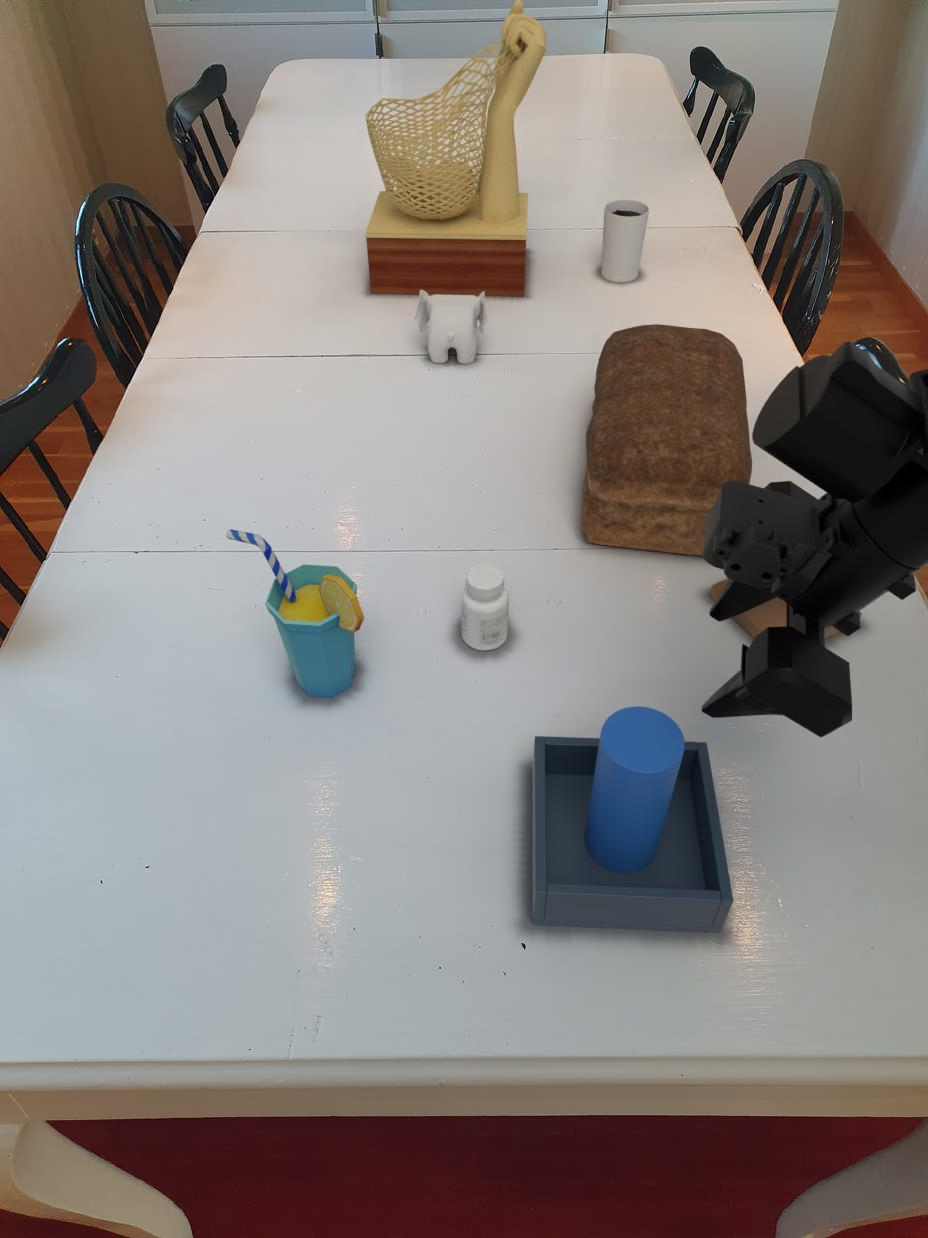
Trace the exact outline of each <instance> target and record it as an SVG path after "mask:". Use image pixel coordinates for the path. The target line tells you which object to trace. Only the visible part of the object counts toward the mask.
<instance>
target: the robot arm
mask: <svg viewBox="0 0 928 1238" xmlns="http://www.w3.org/2000/svg"><path fill="white" fill-rule="evenodd" d="M908 384H909V387H908V386H906V384H904V383H902V382H901V381H899V380H898V379H896V378H895V377H894V376H892V375H891V374H889V373H888V372H887V371H886V370H884V369H882V367H880V366H879V365H877V364H876V363H875V362H874V360H873V359H872V358H871V356H870V355H869V354H868V353H867V352H866V351H865V350H863V349H862V348H861V347H859V346H858V345H856V344H855V343H854V342H852V341H843V343H842V344H841V345H840V346H839V347H838V348H837V349H836V350H834V351H833V352H832V354H831V355H829V354H821V355H817V356H815V357H813V358H811V359H810V360H808V361H806V362H805V363H803V364H802V365H801V366H798V365H796V366H794V367H793V369H791V370H790V371H789V372H788V373H787V374H786V375H785V376H784V377H783V378H782V379H781V381H780V382H779V383H778V384H777V385H776V387H775V388H774V389H773V391H772V392H770V394H769V396H768V398H767V399H766V401H765V402H764V404H763V406H762V407H761V409H760V411H759V413H758V414H757V417H756V419H755V422H754V424H753V429H752V433H751V439H752V442H753V444H754V445H755V446H757V447H758V448H759V449H761V450H762V451H764V452H765V453H767V454H768V455H769V456H771V457H772V458H774V459H776V460H777V461H779V462H780V463H782V464H783V465H784V466H786V467H788V468H789V469H790V470H792V471H794V472H795V473H796V474H798V475H800V476H801V477H803V478H804V479H806V480H807V481H809V482H810V483H812V484H813V485H815V486H816V487H818V488H819V489H821V490H822V491H824V492H825V493H824V494H823V495H822V496H821V497H819V498H817V497H815V496H814V495H812V494H811V493H809V492H808V491H806V490H805V489H803V487H801V486H799V485H797V484H795V482H793V481H791V480H782V481H781V480H780V481H770V482H769V483H768V484H766V486H765V487H761V486H757V485H753V484H746V483H743V482H739V481H727V482H725V483H724V484H723V485H722V488H721V490H720V492H719V494H718V496H717V498H716V500H715V503H714V505H713V507H712V509H711V511H710V513H709V515H708V518H707V520H706V522H705V537H704V545H703V549H702V555H701V556H702V558H703V559H704V561H705V562H706V563H707V564H708V565H710V566H712V567H714V568H717V569H720V570H723V574H724V575H725V577H726V579H729V581H728V582H727V584H726V586H725V587H724V589H723V590H722V592H721V593H720V595H719V597H718V598H717V600H716V601H714V603H713V604H712V606H711V607H710V609H709V611H708V612H709V613H708V615H709V617H711V618H712V619H714V620H715V621H717V622H723V621H726V620H729V619H731V618H732V617H734V616H737V615H740V614H742V613H744V612H746V611H748V610H751V609H753V608H755V607H757V606H759V605H761V604H764V603H766V602H768V601H770V600H772V599H774V598H777V597H778V598H780V599H781V600H783V601H785V602H786V627H767V628H766V629H765V630H763V631H762V632H761V633H759V634H758V635H757V636H755V638H753V640H752V641H751V643H750V645H749V646H748V645H746V644H745V643H742V644H741V651H740V669H739V670H738V671H737V672H736V673H735V674H734V675H732V676H731V677H730V678H729V679H728V680H727V681H726V682H725V683H724V684H723V685H722V686H720V687H719V688H718V689H717V690H716V691H715V692H714V693H712V694H711V695H710V696H709V698H708V699H706V700H705V702H704V703H703V704H702V705H701V712H702V713H703V714H705V715H706V716H709V717H710V718H713V719H720V718H721V719H723V718H735V717H736V718H737V717H739V718H740V717H754V716H784V717H785V718H787V719H789V720H790V721H792V722H794V723H796V724H798V726H800V727H802V728H804V729H805V730H807V731H809V732H810V733H812V734H814V735H816V736H818V737H819V738H824V737H825V736H829V735H830V734H832V733H834V732H835V731H836V730H838V729H840V728H842V727H844V726H846V725H847V724H849V723H851V722H852V721H853V699H852V698H853V696H852V686H851V685H852V683H851V681H852V680H851V670H850V669H851V667H850V666H851V665H850V662H849V661H847V660H846V659H845V658H843V657H841V656H839V654H837V653H835V652H834V651H831V650H830V649H828V648H827V639H826V632H825V628H826V629H827V628H829V627H830V626H832V627H834V628H835V629H837V630H838V631H840V633H841V634H843V635H845V636H846V637H850V636H851V635H852V634H855V632H857V631H859V630H861V618H860V615H859V612H861V610H864V609H865V608H866V607H868V606H869V605H870V604H872V603H873V602H875V601H876V600H879V598H880V597H882V596H884V595H885V594H886V593H888V592H889V593H890V594H892V595H893V596H895V597H896V598H898V599H900V600H901V601H903V600H905V599H906V598H909V596H911V595H912V594H914V593H915V592H916V591H917V585H916V579H915V573H917V572H918V571H920V570H921V569H923V568H924V567H926V566H927V565H928V368H926V369H922V370H917V371H913V372H912V373H910V375H909V376H908ZM732 619H733V618H732Z"/></svg>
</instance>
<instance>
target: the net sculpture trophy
mask: <svg viewBox="0 0 928 1238" xmlns="http://www.w3.org/2000/svg"><path fill="white" fill-rule="evenodd" d="M501 27H502V28H501V31H500V35H501V40H499V41H497V42H494V43H493V44H490V45H488V46H486V47H484V48H483V49H481V50H480V51H478V52H477V53H476V54H474V56H472V57H471V58H470V59H469V60H468V61H467V62H466V63H465V64H464V65H463V66H462V67H461V68H460V69H459V70H458V71H457V72H456V73H455V74H454V75H453V76H452V77H451V78H450V79H449V80H448V81H447V82H446V83H445V84H444V85H443V86H442V87H441V88H440V89H438V90H435V91H434V92H431V93H428V94H427V95H424V96H421V97H419V98H391V97H390V98H387V97H382V98H381V99H380V100H378V101H377V102H375V103H374V104H373V105H372V106H371V107H370V108H369V110H367V112H365V114H364V117H365V122H366V128H367V133H368V138H369V141H370V145H371V148H372V152H373V155H374V158H375V162H376V164H377V168H378V171H379V174H380V177H381V179H382V183H383V186H384V189H385V190H380V191H379V193H378V196H377V198H376V202H375V204H374V207H373V210H372V213H371V216H370V219H369V222H368V225H367V228H366V230H365V240H366V250H367V251H366V253H367V264H368V275H369V286H370V294H372V295H373V294H374V295H377V294H379V295H380V294H381V295H419V294H420V290H424V291H426V292H427V293H428V295H429V296H431V295H435V294H439V295H474V296H477V297H478V296H479V295H480V294H481V293H482V292H483V291H485V297H525V283H526V255H527V229H528V228H527V227H528V202H529V200H528V199H529V193H528V192H520V185H519V172H518V157H517V144H516V137H515V121H514V120H515V115H516V111H517V109H518V108H519V107H520V104H521V103H522V102H523V100H524V98H525V96H526V95H527V92H528V90H529V88H530V87H531V84H532V82H533V80H534V78H535V76H536V74H537V72H538V69H539V67H540V65H541V64H542V61H543V59H544V56H545V53H546V52H547V51H546V50H547V49H546V48H547V38H548V37H547V36H548V35H547V33H546V30H545V27H544V26H543V24H541V23H540V21H538V19H535V18H533V17H531V16H529V15H527V14H525V13H524V3H523V1H522V0H514V3H513V4H512V6H511V8H510V10H509V13H508V15H507V16H506V17H505V18H504V21H503V24H502V26H501ZM501 44H502V45H501ZM500 45H501V47H500V48H499V49H496V47H498V46H500ZM484 51H485V53H484V54H483V52H484ZM489 52H492V53H491V54H490V55H489V56H488V57H487V58H485V57H486V56H487V55H488V54H489ZM482 54H483V56H482ZM481 56H482V57H481ZM493 56H494V60H492V62H491V63H489V62H487V61H489V60H490V59H491V58H492V57H493ZM470 62H472V63H470ZM481 63H482V64H481ZM476 64H477V65H476ZM467 65H468V66H467ZM474 65H475V67H474V68H473V69H470V68H472V67H473V66H474ZM480 65H481V67H480V68H479V70H477V68H478V67H479V66H480ZM485 65H486V66H487V68H486V70H485V71H484V73H483V72H482V69H483V68H484V66H485ZM492 65H494V68H492V69H491V66H492ZM466 72H468V73H467V74H465V73H466ZM464 74H465V75H464ZM471 74H474V75H473V76H472V77H471V78H470V79H469V80H468V81H466V80H465V79H466V78H468V77H469V76H471ZM463 75H464V76H463ZM478 75H480V77H479V78H478V79H477V80H475V81H474V82H472V81H473V80H474V79H475V78H476V77H477V76H478ZM462 76H463V77H462ZM482 79H483V80H482ZM481 80H482V82H481V83H480V84H479V82H480V81H481ZM462 83H463V84H464V86H463V88H462V89H461V90H460V91H459V93H458V94H456V95H454V94H455V93H456V91H457V90H458V88H459V86H460V85H461V84H462ZM454 86H455V88H454V90H453V92H452V93H451V94H450V96H449V97H447V96H448V94H449V92H450V91H451V90H452V88H453V87H454ZM468 86H470V87H469V88H468V89H467V90H466V91H465V89H466V88H467V87H468ZM475 87H477V88H476V89H474V88H475ZM464 91H465V92H464ZM493 91H494V92H493ZM463 92H464V93H463ZM439 93H440V94H439ZM477 93H478V94H477ZM492 94H493V95H492ZM483 95H484V96H483ZM482 96H483V97H482ZM446 97H447V98H446ZM474 97H475V98H474ZM481 97H482V98H481ZM440 98H441V99H440ZM472 98H474V99H473V100H472ZM490 98H491V99H490ZM430 99H432V100H430ZM439 99H440V101H437V100H439ZM428 100H430V101H428ZM477 100H478V101H479V102H477V103H476V101H477ZM489 100H490V102H489ZM384 101H386V102H384ZM401 101H403V102H401ZM383 102H384V103H383ZM409 103H411V105H407V104H409ZM447 103H448V104H447ZM488 103H489V105H488ZM392 104H393V105H396V106H395V107H391V106H389V105H392ZM422 105H423V106H422ZM430 105H433V106H431V107H429V106H430ZM416 106H422V107H420V108H419V109H417V108H416ZM400 107H405V109H403V110H399V108H400ZM427 107H429V108H427ZM384 108H386V109H389V110H387V111H385V112H383V110H384ZM470 108H473V109H472V110H471V109H470ZM378 109H379V111H378ZM447 109H448V110H447ZM481 109H482V110H481ZM408 110H413V111H412V112H408ZM440 110H441V111H440ZM446 110H447V111H446ZM439 111H440V112H439ZM391 112H397V113H395V114H390V113H391ZM429 112H430V113H429ZM418 113H420V114H419V115H417V114H418ZM427 113H429V114H427ZM466 113H468V114H466ZM375 114H377V115H376V116H375ZM402 114H404V115H403V116H401V115H402ZM471 114H472V115H471ZM486 114H487V115H486ZM380 115H381V117H380ZM385 116H388V117H385ZM439 116H441V117H440V118H438V117H439ZM447 116H448V117H447ZM464 116H465V117H464ZM374 117H375V118H374ZM408 117H413V118H408ZM429 117H431V118H429ZM393 118H397V119H395V120H393ZM428 118H429V119H428ZM479 118H481V119H480V120H479ZM418 119H420V120H418ZM402 120H405V121H402ZM456 120H457V121H456ZM455 121H456V122H455ZM476 121H477V123H475V122H476ZM386 122H388V123H386ZM411 122H413V123H411ZM430 122H431V123H430ZM454 122H455V124H453V123H454ZM464 122H465V123H464ZM385 123H386V124H385ZM395 123H396V125H393V124H395ZM428 123H430V124H428ZM403 125H405V126H403ZM429 127H430V128H429ZM456 127H457V129H456ZM428 128H429V129H428ZM471 128H472V129H471ZM470 129H471V130H470ZM479 129H480V134H479V133H478V130H479ZM463 130H464V133H463V134H462V131H463ZM420 131H421V132H420ZM396 133H397V134H396ZM456 134H457V135H456ZM445 135H446V136H445ZM455 136H456V137H455ZM430 138H431V139H430ZM440 139H442V140H440ZM439 140H440V141H439ZM447 140H449V141H448V142H447V143H445V141H447ZM462 140H464V141H465V142H464V143H461V142H462ZM471 143H473V144H471ZM477 143H479V145H477ZM455 144H456V145H455ZM454 145H455V146H454ZM420 146H421V147H420ZM398 147H399V148H398ZM440 147H441V148H440ZM439 148H440V149H439ZM447 148H448V149H447ZM446 149H447V150H446ZM458 149H459V150H458ZM445 150H446V151H445ZM462 150H464V152H462ZM454 152H456V154H455V155H453V154H454ZM470 153H473V154H472V155H470ZM477 154H478V155H477ZM428 157H430V158H428ZM474 161H475V162H474ZM437 162H439V163H437ZM469 162H471V163H472V164H471V165H470V164H469ZM395 188H396V189H395Z"/></svg>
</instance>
